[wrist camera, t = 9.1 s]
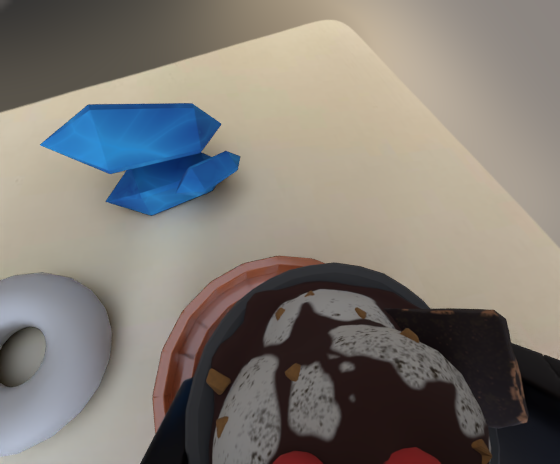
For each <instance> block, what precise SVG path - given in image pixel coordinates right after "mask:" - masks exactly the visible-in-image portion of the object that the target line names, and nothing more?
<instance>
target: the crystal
mask: <svg viewBox="0 0 560 464" xmlns="http://www.w3.org/2000/svg"><path fill="white" fill-rule="evenodd" d="M220 126H221V123H220V122H218V121H217V120H215V119H214V118H212V117H211V116H209V115H208V114H207V113H205V112H204V111H202V110H201V109H199V108H198V107H196V106H195V105H194V104H192V103H174V104H93V105H87V106H86V107H85V108H83V109H82V110H81V111H80V112H79V113H77V114H76V115H75V116H74V117H73V118H71V119H70V120H69V121H68V122H67V123H65V124H64V125H63V126H62V127H61V128H59V129H58V130H57V131H56V132H55V133H53V134H52V135H51V136H50V137H49V138H47V139H46V140H45V141H44V142H43V143H41V144H40V145H41V146H43V147H46V148H48V149H51V150H53V151H55V152H58V153H60V154H63V155H65V156H68V157H70V158H72V159H75V160H77V161H80V162H82V163H84V164H87V165H89V166H92V167H94V168H97V169H99V170H101V171H104V172H106V173H109V174H112V173H117V172H121V171H125V170H127V171H126V172H125V174H124V175H123V177H122V178H121V179H120V181H119V182H118V184H117V185H116V187H115V188H114V190H113V191H112V193H111V194H110V196H109V197H108V199H107V200H106V202H108V203H111V204H115V205H118V206H121V207H125V208H128V209H131V210H134V211H138V212H141V213H144V214H148V215H151V216H152V215H154V214H157V213H159V212H162V211H164V210H166V209H169V208H171V207H174V206H176V205H179V204H181V203H184V202H186V201H189V200H191V199H194V198H196V197H199V196H201V195H203V194H206V193H208V192H211V191H213V190H214V188H215V186H216V185H217V184H218V183H220V182H221V181H223V180H224V179H225V178H227V177H228V176H230V175H231V174H233V173H234V172H236V171H237V170H238V166H239V161H240V156H238V155H235V154H233V153H230V152H227V151H225V152H222V153H220V154H218V155H216V156H213V157H210V156H208V155H206V154H204V153H201V152H202V150H203V149H204V147H205V146H206V145H207V143H208V142H209V141H210V139H211V138H212V137H213V135H214V134H215V132H216V131H217V130H218V128H219V127H220Z"/></svg>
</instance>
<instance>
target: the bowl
mask: <svg viewBox="0 0 560 464" xmlns="http://www.w3.org/2000/svg"><path fill="white" fill-rule="evenodd" d="M317 264H325V263H323V262H320V261H318V260H315V259H312V258H300V257H288V256H274V257H270V258H265V259H261V260H256V261H252V262H247V263H244V264H241V265H239V266H238V267H236V268H234V269H232V270H231V271H229V272H227V273H225V274H223V275H222V276H220V277H218V278H216V279H215V280H213V281H211V282H210V283H209V284H208V285H207V286H206V287H205V288H204V289H203V290H202V291H201V292H200V293H199V294H198V295H197V296H196V297H195V298H194V299H193V300H192V301H191V303H190V304H189V305H188V306H187V307H186V308H185V309H184V310H183V312H182V313H181V315H180V317H179V318H178V320H177V322H176V324H175V326H174V328H173V330H172V332H171V334H170V336H169V338H168V340H167V341H166V343H165V345H164V347H163V351H162V352H161V357H160V362H159V367H158V372H157V377H156V382H155V386H154V391H153V399H152V400H153V411H154V423H155V434H156V432H157V430H158V428H159V427H160V425H161V423H162V421H163V419H164V417H165V415H166V413H167V411H168V409H169V407H170V405H171V404H172V402H173V400H174V398H175V396H176V394H177V392H178V390H179V388H180V386H181V384H182V382H183V381H184V380H186V379H189V378H192V377H194V374H195V371H196V369H197V366H198V363H199V361H200V358H201V355H202V352H203V350H204V347H205V345H206V343H207V342H208V340H209V339H210V337H211V336H212V334H213V333H214V331H215V329H216V328H217V326H218V325H219V323H220V322H221V320H222V319H223V318H224V317H225V315H226V314H227V313H228V312H229V311H230V309H231V308H232V307H233V306H234V305H235V303H236V302H237V301H239V300H240V299H241V298H242V297H244V296H245V295H246V294H247V293H249V292H250V291H251V290H252V289H254V288H255V287H257V286H259V285H260V284H262V283H264V282H265V281H267V280H268V279H270V278H272V277H275V276H277V275H279V274H281V273H284V272H286V271H288V270H291V269H296V268H300V267H304V266H309V265H317Z"/></svg>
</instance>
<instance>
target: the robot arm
mask: <svg viewBox="0 0 560 464" xmlns="http://www.w3.org/2000/svg"><path fill="white" fill-rule="evenodd" d="M511 346H512V349H513V352H514V354H515V357H516V360H517V363H518V367H519V371H520V374H521V380H522V386H523V392H524V397H525V401H526V406H527V410H528V415H529V416H528V420H527V422H526V423H522V424H519V425H515V426H508V427H504V428H499V429H498V428H497V434H498V440H499V446H500V464H560V360H558V359H555V358H552V357H549V356H547V355H544V356H543V355H542V354H541V353H538V352H535V351H532V350H530V349H527V348H524V347H521V346H519V345H516V344H513V343H511ZM192 381H193V377H192V378H189V379H186V380H184V381H183V382H182V384H181V386H180V388H179V390H178V392H177V394H176V396H175V398H174V400H173V402H172V404H171V405H170V407H169V409H168V411H167V413H166V415H165V417H164V419H163V421H162V423H161V425H160V427H159V428H158V430H157V432H156V434H155V436H154V438H153V440H152V442H151V444H150V446H149V448H148V450H147V452H146V453H145V455H144V457H143V459H142V461H141V463H140V464H188V458H187V453H186V449H185V420H186V407H187V403H188V398H189V394H190V390H191V386H192Z"/></svg>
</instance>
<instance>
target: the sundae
mask: <svg viewBox="0 0 560 464" xmlns="http://www.w3.org/2000/svg"><path fill="white" fill-rule="evenodd" d="M528 416H529V415H528V410H527V406H526V401H525V397H524V392H523V386H522V380H521V374H520V371H519V367H518V363H517V360H516V357H515V354H514V352H513V349H512V346H511V341H510V334H509V329H508V325H507V321H506V319H505V318H504V317H503V316H501V315H500V314H499V313H497V312H496V311H495V310H483V309H430V308H429V307H428V306H427V305H426V303H425V302H424V301H423V300H422V299H420V298H419V297H418V296H417V295H415V294H414V293H413V292H412V291H410V290H409V289H408V288H407V287H405V286H404V285H402V284H400V283H399V282H397V281H395V280H394V279H392V278H390V277H389V276H387V275H385V274H384V273H380V272H377V271H374V270H371V269H367V268H364V267H361V266H355V265H348V264H341V263H326V264H317V265H309V266H304V267H300V268H296V269H291V270H288V271H286V272H284V273H281V274H279V275H277V276H275V277H272V278H270V279H268V280H267V281H265V282H264V283H262V284H260V285H259V286H257V287H255V288H254V289H252V290H251V291H250V292H249V293H247V294H246V295H245V296H244V297H242V298H241V299H240V300H239V301H237V302H236V303H235V305H234V306H233V307H232V308H231V309H230V311H229V312H228V313H227V314H226V315H225V317H224V318H223V319H222V320H221V322H220V323H219V325H218V326H217V328H216V329H215V331H214V333H213V334H212V336H211V337H210V339H209V340H208V342H207V343H206V345H205V347H204V350H203V352H202V355H201V358H200V361H199V363H198V366H197V369H196V371H195V374H194V377H193V381H192V386H191V390H190V394H189V398H188V403H187V407H186V420H185V449H186V453H187V458H188V464H500V446H499V440H498V434H497V428H498V429H499V428H504V427H508V426H515V425H519V424H522V423H526V422H527V420H528Z"/></svg>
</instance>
